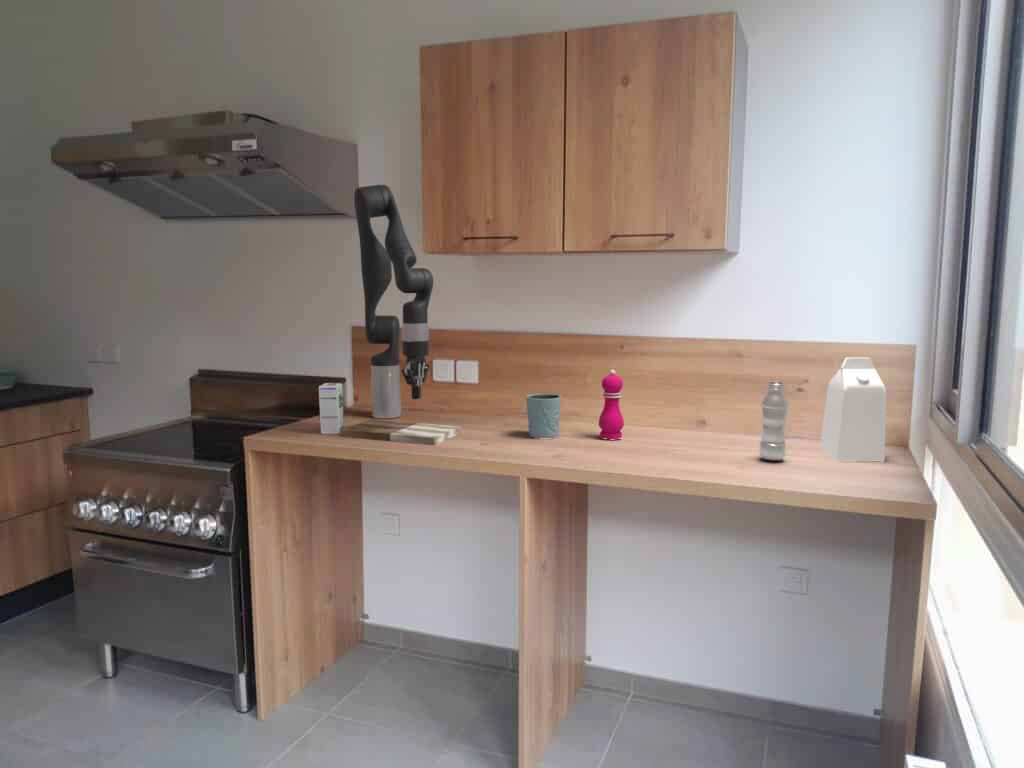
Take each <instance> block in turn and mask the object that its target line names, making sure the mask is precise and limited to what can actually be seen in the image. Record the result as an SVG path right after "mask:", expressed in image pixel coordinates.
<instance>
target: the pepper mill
mask: <svg viewBox="0 0 1024 768" xmlns="http://www.w3.org/2000/svg"><path fill="white" fill-rule="evenodd" d="M623 384H624V382H623V380H622V378H621V376H618V375H617V374H616V370H615V369H611V370H609V374H608V375H605V376H604V377H603V378H602V381H601V387H602V389H603V390H604V391H603V394H602V395H603V398H604V404H603V405H604V406H603V409H602V411H601V414H600V416H599V419H598V426H599V428H600V429H601V431H600V433H599V438H600V437H602V438H607V439H618V438H621V437H622V438H623V433H622V429H623V428H624V426H625V421H624V417H623V414H622V412H621V410H620V409H621V408H620V398H622V397H621V394H622V392H621V390H622V389H623V387H624V385H623Z"/></svg>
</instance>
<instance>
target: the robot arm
mask: <svg viewBox="0 0 1024 768" xmlns="http://www.w3.org/2000/svg"><path fill="white" fill-rule="evenodd" d="M353 195H354V196H353V202H354V203H353V204H354V209H355V217H356V224H357V231H358V235H359V236H358V237H359V247H360V265H361V266H360V267H361V276H362V286H363V287H362V288H363V294H364V296H363V297H364V319H365V320H364V322H365V325H364V327H365V331H364V332H365V336H366V341H367V342H368V344H373V345H389V346H388V348H387V349H386V350H384V351H382V352H379V353H375V354H374V355H372V356H371V357H370V373H371V374H370V377H371V383H370V384H371V387H370V388H371V417H372V418H375V419H395V418H399V417H401V415H402V399H401V397H402V395H401V392H402V391H401V389H402V388H401V383H400V382H401V381H400V377H401V374H402V375H403V378H404V380H405V382H406V385H408V386H410V387H411V398H412V400H419V399H421V397H422V390H421V389H422V385H423V383H425V382H426V379H427V375H428V373H429V369H430V364H427V363H426V359H425V358H426V357H427V356H429V354H430V346H429V345H430V344H429V343H430V341H429V339H430V338H429V337H430V336H429V335H430V334H429V333H430V332H429V324H428V308H429V304H430V301H431V300H430V299H431V295H432V292H433V288H434V277H433V275H432V274H433V273H432V272H431V271H430V270H429V269H428V268H424V267H421V268H420V267H414V266H415V265H416V263H417V256H416V253H415V251H414V249H413V247H412V245H411V243H410V240H409V239H408V235H407V234H406V231H405V229H404V225H403V222H402V219H401V216H400V213H399V209H398V206H397V201H396V200H395V197H394V194H393V192H392V190H391V189H390V187H389V186H388V185H386V184H375V185H365V186H360V187H357V188H356V189H355V191H354V194H353ZM385 216H386V218H387V220H388V226H387V229H386V233H385V238H384V245H383V244H382V243H381V242H380V240H379V239H378V238H377V236H376V234H375V233H374V231H373V229H372V224H371V219H372V218H380V217H385ZM384 246H385V247H384ZM392 267H393V270H392ZM393 272H394V279H395V286H396V288H397V289H398V290H399V291H400V292H401V293H403V294H415V297H414V299H413V300H411V301H408V302H407V301H406V302H405V303H404V304H403V305H402V330H401V327H400V326H401V325H400V320H399V317H398V316H396V315H376V309H377V307H378V305H379V302H380V300H381V298H382V296H383V295H384V294H385V293H386V291H387V289H388V288H389V286H390V284H391V282H392V278H393V275H392V273H393ZM400 330H401V331H400ZM400 332H401V338H402V339H401V343H402V344H401V346H402V347H401V350H402V353H401V354H402V355H403V356H404V357H406V362H405V364H406V366H405V368H402V370H401V374H400Z"/></svg>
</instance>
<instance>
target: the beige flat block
mask: <svg viewBox="0 0 1024 768" xmlns="http://www.w3.org/2000/svg"><path fill="white" fill-rule="evenodd" d="M416 423H417V422H416ZM460 434H461V426H457V425H445V424H433V423H422V422H421V423H420V422H418V423H417V424H414V425H412V426H409V427H407V428H404V429H401V430H399V431H396V432H394V433H391V434H390V442H396V443H397V442H399V443H408V444H420V445H429V446H436V445H438V444H440V443H442V442H444V441H447V440H448V439H451V438H453V437H455V436H458V435H460Z"/></svg>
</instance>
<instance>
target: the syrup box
mask: <svg viewBox="0 0 1024 768" xmlns="http://www.w3.org/2000/svg"><path fill="white" fill-rule="evenodd" d="M343 392H344V391H343V383H342V382H327V383H326V382H325V383H323V384H321V385H319V386H318V401H319V402H318V403H319V404H318V405H319V419H320V421H319V424H320V434H321V435H341V431H340V430H341V429H344V428H345V417H344V416H345V414H344V394H343Z"/></svg>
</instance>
